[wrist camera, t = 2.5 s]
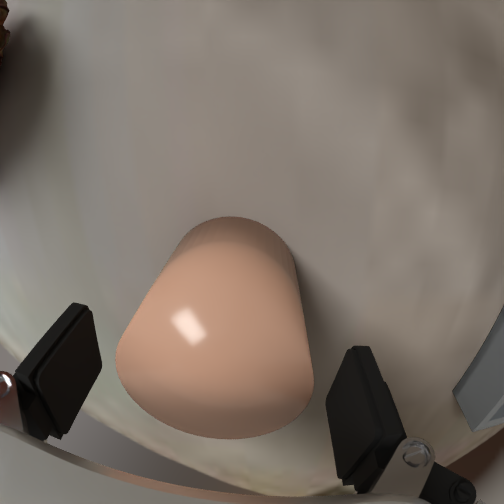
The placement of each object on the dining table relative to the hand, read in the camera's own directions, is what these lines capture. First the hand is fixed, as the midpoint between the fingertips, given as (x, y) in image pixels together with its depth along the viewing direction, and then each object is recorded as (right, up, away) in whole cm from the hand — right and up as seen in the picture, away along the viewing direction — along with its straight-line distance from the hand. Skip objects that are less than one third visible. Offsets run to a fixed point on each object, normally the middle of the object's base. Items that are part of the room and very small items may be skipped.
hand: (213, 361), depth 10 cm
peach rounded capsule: (0, +3, +5) cm, 5 cm away
